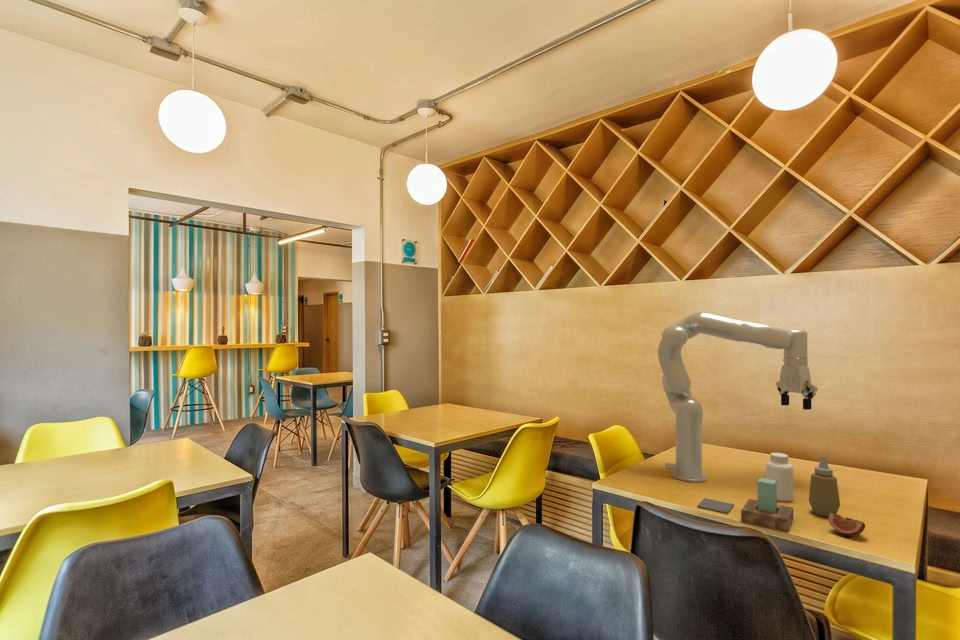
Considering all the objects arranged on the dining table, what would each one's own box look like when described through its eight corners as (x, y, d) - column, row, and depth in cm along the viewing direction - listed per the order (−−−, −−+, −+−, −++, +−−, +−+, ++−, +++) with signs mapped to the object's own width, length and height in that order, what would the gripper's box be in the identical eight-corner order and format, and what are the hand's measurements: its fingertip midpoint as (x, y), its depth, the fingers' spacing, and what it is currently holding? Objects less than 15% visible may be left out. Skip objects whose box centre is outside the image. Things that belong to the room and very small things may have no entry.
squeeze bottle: (841, 521, 144) (840, 461, 144) (809, 515, 148) (808, 457, 148) (838, 512, 150) (837, 455, 151) (808, 507, 155) (807, 452, 155)
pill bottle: (784, 503, 158) (784, 458, 158) (761, 496, 165) (760, 453, 166) (798, 499, 162) (797, 455, 162) (774, 492, 169) (774, 450, 169)
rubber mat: (697, 507, 155) (697, 505, 155) (704, 499, 162) (704, 498, 162) (727, 514, 149) (727, 512, 149) (734, 506, 156) (734, 504, 156)
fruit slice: (824, 531, 137) (823, 513, 137) (836, 526, 140) (835, 509, 140) (858, 542, 129) (857, 524, 129) (870, 537, 132) (869, 519, 133)
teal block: (757, 520, 144) (757, 481, 144) (760, 516, 147) (760, 477, 148) (774, 524, 141) (774, 484, 141) (777, 519, 145) (776, 480, 145)
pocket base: (741, 521, 144) (741, 509, 144) (749, 509, 153) (749, 498, 153) (788, 532, 136) (788, 519, 136) (793, 519, 145) (793, 507, 145)
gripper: (768, 360, 187) (769, 404, 187) (807, 363, 171) (807, 411, 170) (784, 360, 189) (785, 403, 189) (824, 363, 172) (825, 410, 172)
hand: (795, 407), depth 179 cm, fingers open, 9 cm apart
